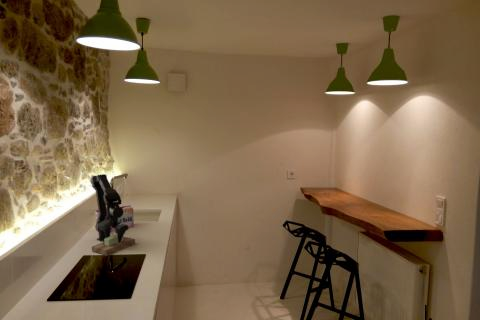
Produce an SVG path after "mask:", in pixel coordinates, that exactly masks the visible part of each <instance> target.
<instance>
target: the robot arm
mask: <svg viewBox="0 0 480 320" xmlns="http://www.w3.org/2000/svg"><path fill="white" fill-rule="evenodd" d="M89 179H90V180H89V182H90V184H91V187H92V188H93V190H95V196H96V202H97V210H99V215H98V217H97V222H96V221H95V225H94V228H95V231H98V232H99V233H98V232H97V233H98V238H96V240H97V241H100V242H104V239H105V238H108V237H111V232H112V231H111V229H112V228H115V233H116V234H117V235H118V242H121V240H122V237H123V236H124V235H125V234H126V232H127V231H128V230H129V228H128V225H125V224H121V225H118V224H120V222H118V218H120V217H121V216H122V215H123V209H122V208H120V207H121V206H120V205H122V199H121V195H120V193H118V191H117V190H116V189H114V188H113V187H112V186H111V184H110V181H109V179H108V176H107V174H103V173H102V174H97V175H92V176H90V178H89Z"/></svg>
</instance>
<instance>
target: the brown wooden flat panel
mask: <svg viewBox="0 0 480 320" xmlns="http://www.w3.org/2000/svg"><path fill="white" fill-rule="evenodd" d="M134 245H136V239H135V238H132V237H128V236H124V235H123V241H122V242H120V243H115V244H113V246H107V245H105V243H104V241H102V242H100V243H97V244H95V245H92V246H91V253H95V254H98V255H102V256H106V257H107V256H110V255H112V254H115V253H117V252H119V251H121V250H124V249H126V248H129V247H132V246H134Z"/></svg>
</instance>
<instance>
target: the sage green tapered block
mask: <svg viewBox="0 0 480 320" xmlns="http://www.w3.org/2000/svg"><path fill="white" fill-rule="evenodd" d="M122 241H123V237H122V240H121V242H122ZM103 242H104V243H105V245H107V246H113V244H115V243H120V242H118V235H117V233H116V234H113V235H112V236H111V235H110V237H108V238H105V239H104V241H103Z"/></svg>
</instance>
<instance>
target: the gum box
mask: <svg viewBox="0 0 480 320" xmlns="http://www.w3.org/2000/svg"><path fill="white" fill-rule="evenodd" d="M119 207H120V208H122V209H123V215H122V216H121V217H120V218H118V222H120V224H118V225H121V224H125V225H128V229H130V228H134V227H135V223H134V222H135V221H134V207H133V206H132V205H124V206H119ZM94 214H95V223H96V222H97V217H98V215H99V210H98V209H97V210H95V213H94ZM96 231H97V230H96ZM114 231H115V232H116V230H115V228H112V229H111V232H114ZM97 233H98V234H99V232H98V231H97Z"/></svg>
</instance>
